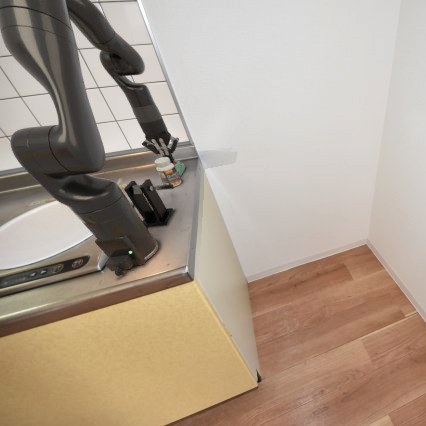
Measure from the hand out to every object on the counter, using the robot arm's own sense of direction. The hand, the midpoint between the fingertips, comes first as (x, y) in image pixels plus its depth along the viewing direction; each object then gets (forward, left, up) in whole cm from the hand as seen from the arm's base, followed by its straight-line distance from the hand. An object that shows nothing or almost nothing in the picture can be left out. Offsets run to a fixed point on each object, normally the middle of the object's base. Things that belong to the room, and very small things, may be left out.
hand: (171, 163), depth 93 cm
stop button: (0, 0, -2) cm, 2 cm away
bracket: (-30, -4, -4) cm, 31 cm away
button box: (0, 0, -4) cm, 4 cm away
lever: (-25, -4, +3) cm, 26 cm away
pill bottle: (-9, -2, -4) cm, 10 cm away
